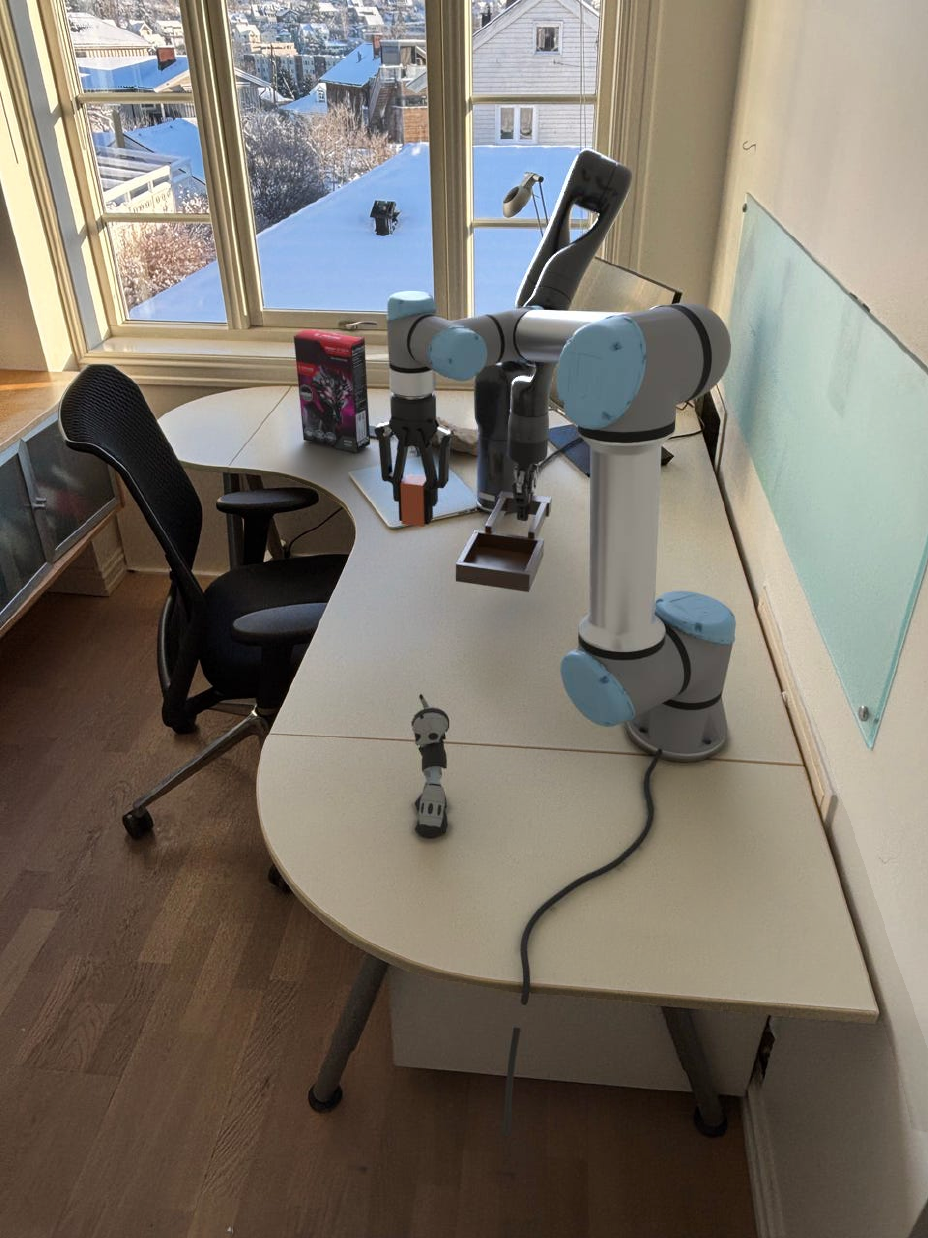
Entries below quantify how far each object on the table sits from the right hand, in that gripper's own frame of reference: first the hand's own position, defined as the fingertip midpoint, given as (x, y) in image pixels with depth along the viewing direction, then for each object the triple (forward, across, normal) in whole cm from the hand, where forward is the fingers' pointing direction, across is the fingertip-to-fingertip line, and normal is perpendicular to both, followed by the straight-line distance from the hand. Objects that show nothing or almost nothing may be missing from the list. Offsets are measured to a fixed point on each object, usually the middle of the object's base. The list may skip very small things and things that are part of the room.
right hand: (416, 519), depth 163 cm
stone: (+17, +15, -72) cm, 76 cm away
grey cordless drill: (+18, -18, +52) cm, 58 cm away
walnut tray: (+8, -16, -7) cm, 19 cm away
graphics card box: (+17, +42, -65) cm, 80 cm away
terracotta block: (0, 0, 0) cm, 0 cm away
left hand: (+7, -16, -20) cm, 26 cm away
